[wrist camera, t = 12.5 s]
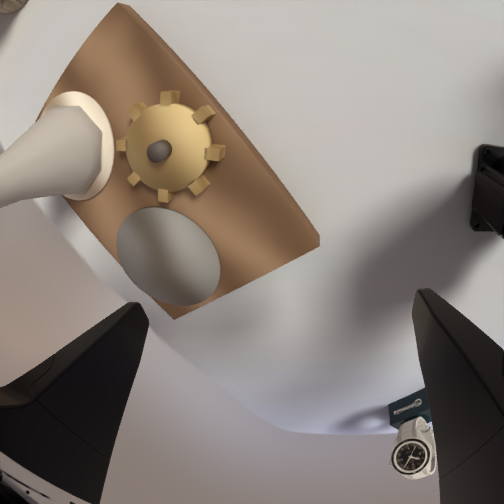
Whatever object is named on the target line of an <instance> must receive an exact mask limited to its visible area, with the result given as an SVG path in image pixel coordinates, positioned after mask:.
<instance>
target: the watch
mask: <svg viewBox="0 0 504 504" xmlns="http://www.w3.org/2000/svg"><path fill="white" fill-rule="evenodd" d="M389 415H390V425H391V426H393V427H394V428H396V429H398V430H399V431H398V436H397V438H395V443H394V449H393V451H392V454H391V459H390V460H389V464H390V465H392V466H393V468H394V469H395V470H396V471H397V472H398V473H400V474H402V475H403V476H405V477H406V478H409V479H412V480H415V479H418V478H422V477H424V476H428V475H431V474H433V473H434V471H435V468H436V445H435V441H434V437H433V436H434V434H433V433H432V430H431V428H430V427H429V426H428V425H427V423H429V422H431V421H432V419H431V413H430V408H429V403H428V398H427V393H426V388H424V389H422V390H420V391H417V392H415V393H413V394H411V395H409V396H407V397H405V398H403V399H400V400H398V401H396V402H394V403H391V404H389Z"/></svg>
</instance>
